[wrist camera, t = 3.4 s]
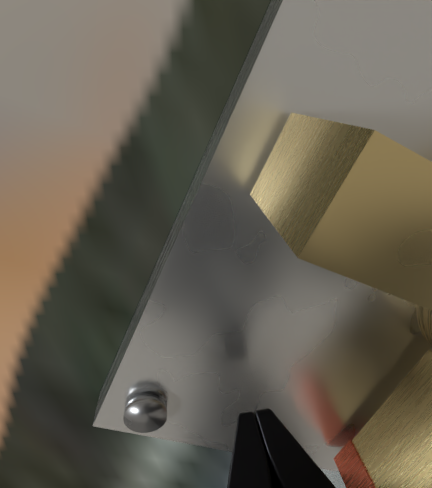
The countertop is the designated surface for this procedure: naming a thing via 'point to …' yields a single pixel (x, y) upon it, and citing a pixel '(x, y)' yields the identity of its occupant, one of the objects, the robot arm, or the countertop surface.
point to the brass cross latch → (363, 264)
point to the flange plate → (278, 250)
